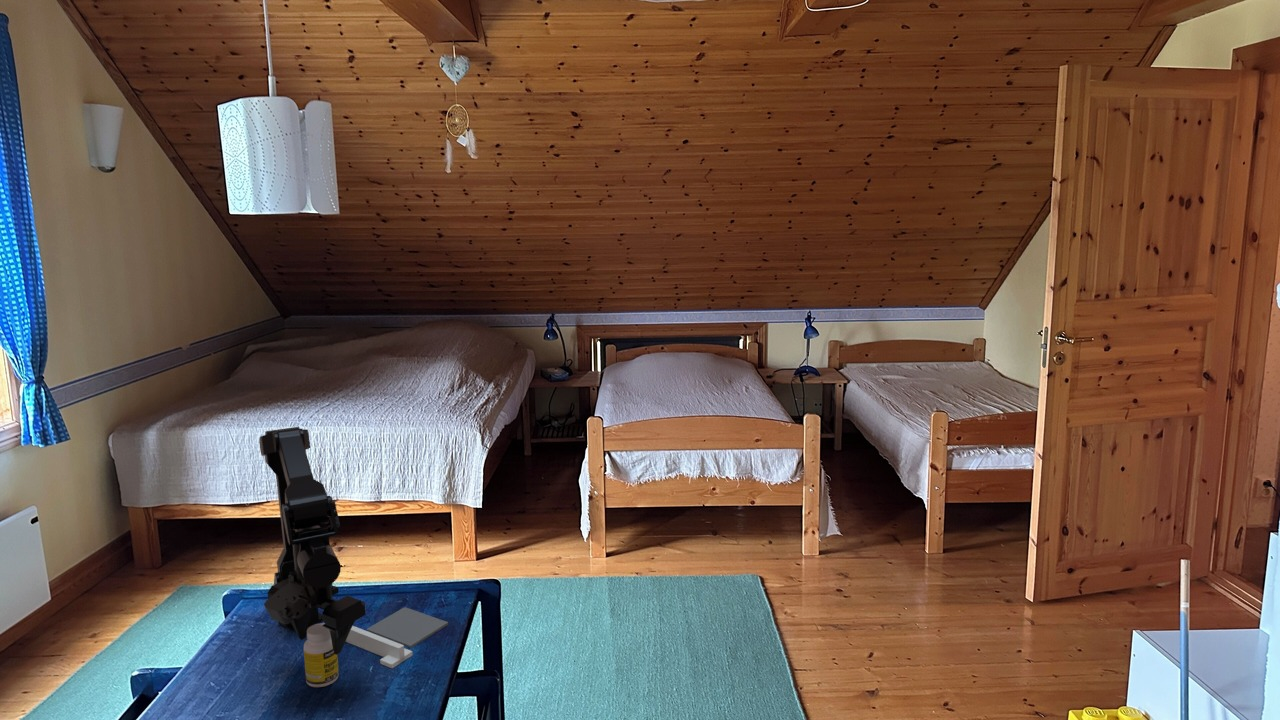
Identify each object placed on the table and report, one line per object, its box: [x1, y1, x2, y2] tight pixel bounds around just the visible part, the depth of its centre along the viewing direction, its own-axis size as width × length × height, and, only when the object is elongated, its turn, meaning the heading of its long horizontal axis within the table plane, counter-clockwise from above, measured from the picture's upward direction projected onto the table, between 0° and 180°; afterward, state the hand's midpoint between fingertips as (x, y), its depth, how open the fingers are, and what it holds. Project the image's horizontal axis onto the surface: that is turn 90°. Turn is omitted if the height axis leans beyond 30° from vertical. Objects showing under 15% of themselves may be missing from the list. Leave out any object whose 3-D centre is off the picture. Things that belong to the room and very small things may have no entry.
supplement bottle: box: [303, 622, 340, 688], centre depth 143 cm, size 5×5×10 cm
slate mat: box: [365, 606, 449, 649], centre depth 161 cm, size 12×10×1 cm
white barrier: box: [345, 625, 413, 669], centre depth 154 cm, size 20×5×3 cm, turn 60°
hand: (320, 646), depth 143 cm, fingers open, 9 cm apart
